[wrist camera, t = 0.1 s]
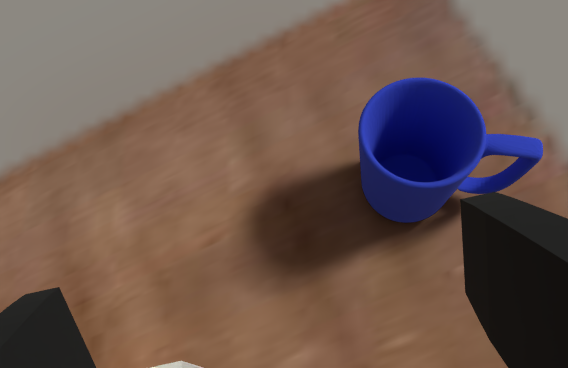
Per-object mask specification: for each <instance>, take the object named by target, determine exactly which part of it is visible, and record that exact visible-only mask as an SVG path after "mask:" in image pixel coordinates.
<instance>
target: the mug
mask: <svg viewBox="0 0 568 368" xmlns="http://www.w3.org/2000/svg"><path fill="white" fill-rule="evenodd" d="M358 133H359V150H360V167H361V183H362V189H363V192H364V195H365V197H366V199H367V201H368V202H369V204H370V205H371V206H372V207H373V209H374V210H376V211H377V212H378V213H379V214H381V215H382V216H384V217H386V218H388V219H390V220H393V221H397V222H404V223H410V222H417V221H421V220H424V219H426V218H428V217H430V216H432V215H433V214H434V213H436V212H437V211H438V210H439V209H440V208H441V207H442V206H443V205H444V204H445V202H446V201H447V200H448V199H449V198H450V196H451V195H452V194H453V193H454V192H455V191H456V189H457V188H458V189H459V190H460V191H463V192H467V193H474V194H487V193H492V192H497V191H500V190H502V189H504V188H506V187H508V186H510V185H511V184H513V183H514V182H516V181H517V180H518V179H520V178H521V177H522V176H523V175H524V174H526V173H527V172H528V171H529V170H530V169H531V168H532V167H533V166H534V165H536V164H537V163H538V162H539V161H540V159H541V158H542V155H543V145H542V142H541V141H540V140H539V139H536V138H530V137H524V136H516V135H505V134H486V128H485V124H484V120H483V118H482V115H481V113H480V111H479V109H478V108H477V106H476V105H475V104H474V102H473V101H472V100H471V99H470V98H469V97H468V96H467V95H466V94H464V93H463V92H462V91H460V90H459V89H457V88H456V87H454V86H452V85H450V84H448V83H445V82H442V81H439V80H435V79H429V78H409V79H404V80H400V81H396V82H394V83H391V84H389V85H387V86H385V87H384V88H382V89H381V90H380V91H378V92H377V93H376V94H375V95H374V96H373V97H372V98H371V99H370V100H369V101H368V103H367V104H366V106H365V108H364V109H363V112H362V114H361V117H360V121H359V130H358ZM489 155H505V156H515V157H519V158H518V159H517V160H516V161H515V162H514V163H513V164H512V165H511V166H509V167H508V168H507V169H505V170H504V171H502V172H500V173H498V174H496V175H493V176H490V177H484V178H472V177H467V176H468V175H469V174H470V173H471V172H472V171H473V169H474V168H475V167H476V166H477V164H478V163H479V161H480V159H481V158H483V157H485V156H489Z"/></svg>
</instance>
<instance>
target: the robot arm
mask: <svg viewBox="0 0 568 368" xmlns="http://www.w3.org/2000/svg"><path fill="white" fill-rule="evenodd" d="M460 203H461V221H462V239H463V257H464V275H465V293H466V295H467V297H468V299H469V301H470V303H471V305H472V307H473V309H474V311H475V313H476V315H477V317H478V319H479V321H480V323H481V325H482V326H483V328H484V330H485V332H486V334H487V336H488V338H489V340H490V341H491V343H492V344H493V346H494V347H495V349H496V350H497V352H498V353H499V355H500V356H501V358H502V359H503V361H504V362H505V364H506V365H507V366H508V368H568V219H567V218H564V217H562V216H559V215H557V214H554V213H551V212H549V211H546V210H544V209H541V208H539V207H536V206H533V205H531V204H528V203H526V202H523V201H520V200H518V199H515V198H512V197H509V196H506V195H503V194H499V193H496V192H492V193H487V194H483V195H478V196H474V197H469V198H465V199H460ZM0 368H96V366H95V364H94V362H93V360H92V358H91V355H90V353H89V351H88V349H87V347H86V345H85V342H84V340H83V338H82V336H81V334H80V332H79V329H78V327H77V325H76V323H75V321H74V319H73V316H72V314H71V312H70V310H69V308H68V306H67V303H66V301H65V299H64V297H63V295H62V293H61V290H60V288H59V287H57V288H53V289H48V290H44V291H39V292H35V293H30V294H25V295H24V296H22V297H21V298H19V299H18V300H17V301H15V302H14V303H12V304H11V305H10V306H9V307H7V308H6V309H5V310H4V311H2V312H1V313H0Z"/></svg>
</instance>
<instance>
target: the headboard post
mask: <svg viewBox="0 0 568 368" xmlns="http://www.w3.org/2000/svg"><path fill="white" fill-rule="evenodd" d="M151 368H203V367H199V366H196V365H193V364H190V363H187V362H183V361H179V362H174V363H169V364H165V365H160V366H156V367H151Z"/></svg>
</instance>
